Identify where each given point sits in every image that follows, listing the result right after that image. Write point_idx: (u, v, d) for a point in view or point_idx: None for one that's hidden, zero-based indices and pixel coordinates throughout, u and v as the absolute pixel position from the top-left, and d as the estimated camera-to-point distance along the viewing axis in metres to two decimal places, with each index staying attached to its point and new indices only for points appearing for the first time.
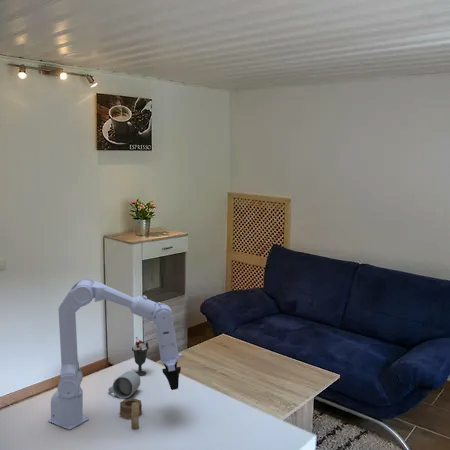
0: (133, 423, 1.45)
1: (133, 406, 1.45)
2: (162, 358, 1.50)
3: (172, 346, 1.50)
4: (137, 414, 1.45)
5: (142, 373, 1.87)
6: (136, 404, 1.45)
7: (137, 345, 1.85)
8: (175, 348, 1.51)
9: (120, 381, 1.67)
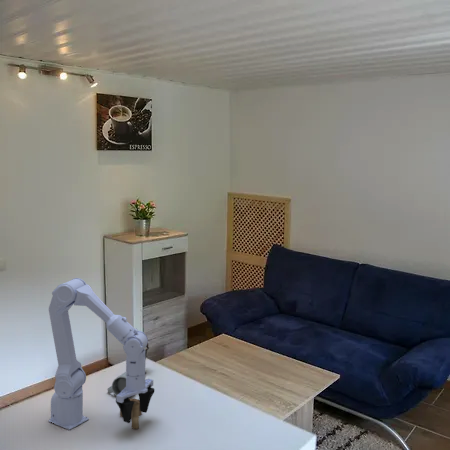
0: (133, 423, 1.45)
1: (133, 406, 1.45)
2: (126, 386, 1.45)
3: (133, 378, 1.42)
4: (137, 414, 1.45)
5: None
6: (136, 404, 1.45)
7: None
8: (137, 381, 1.42)
9: (119, 381, 1.67)
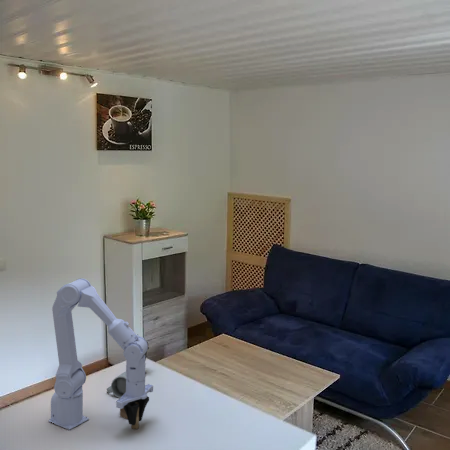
0: None
1: None
2: None
3: (133, 384, 1.42)
4: (137, 414, 1.45)
5: None
6: None
7: None
8: (137, 387, 1.42)
9: (118, 381, 1.67)
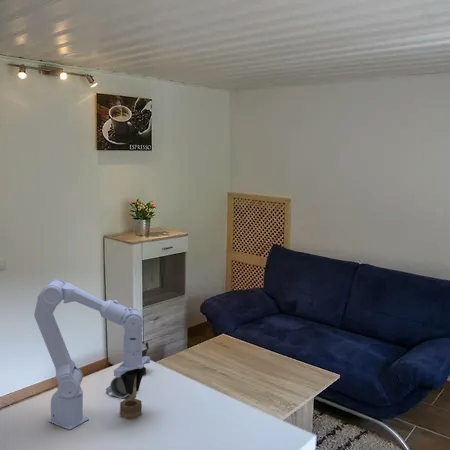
0: None
1: None
2: None
3: (130, 354, 1.47)
4: (134, 384, 1.50)
5: None
6: None
7: None
8: (134, 357, 1.48)
9: (117, 381, 1.67)
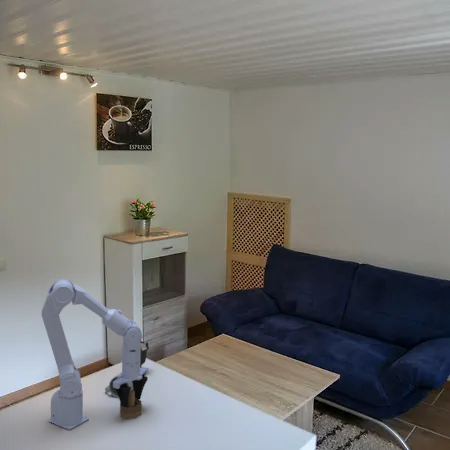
0: None
1: (129, 393, 1.53)
2: (122, 373, 1.53)
3: (129, 366, 1.51)
4: (133, 401, 1.54)
5: None
6: (132, 392, 1.54)
7: None
8: (132, 368, 1.51)
9: None
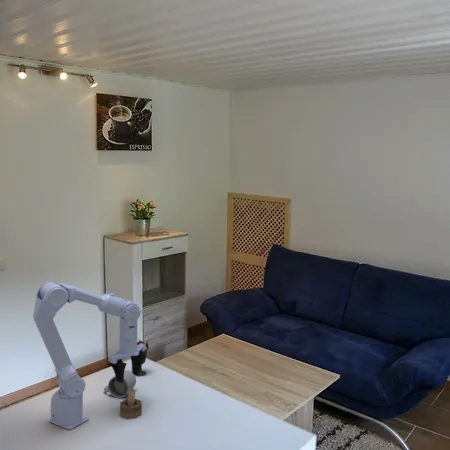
0: None
1: (129, 393, 1.53)
2: None
3: (126, 342, 1.55)
4: (133, 401, 1.54)
5: (142, 373, 1.87)
6: (132, 392, 1.54)
7: None
8: (129, 344, 1.55)
9: (115, 380, 1.68)
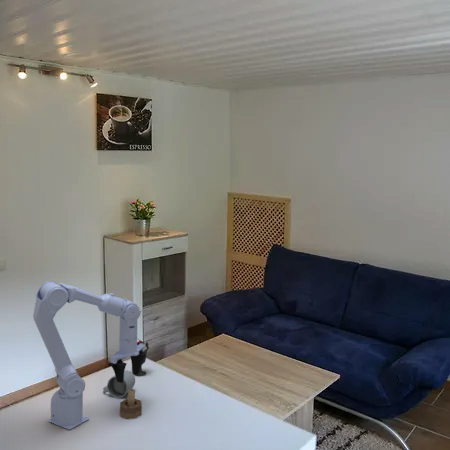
0: None
1: (129, 393, 1.53)
2: (119, 349, 1.58)
3: (126, 342, 1.55)
4: (133, 401, 1.54)
5: (142, 373, 1.87)
6: (132, 392, 1.54)
7: None
8: (129, 344, 1.55)
9: (114, 380, 1.68)
